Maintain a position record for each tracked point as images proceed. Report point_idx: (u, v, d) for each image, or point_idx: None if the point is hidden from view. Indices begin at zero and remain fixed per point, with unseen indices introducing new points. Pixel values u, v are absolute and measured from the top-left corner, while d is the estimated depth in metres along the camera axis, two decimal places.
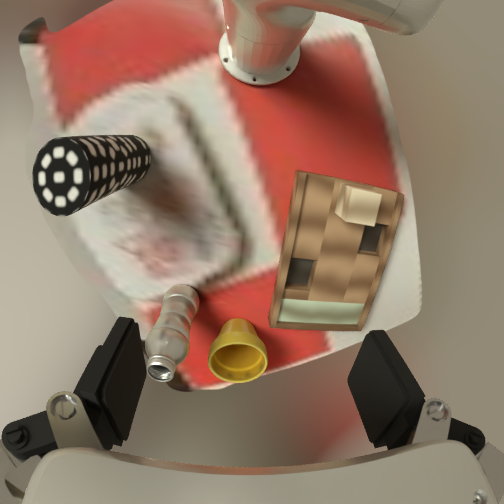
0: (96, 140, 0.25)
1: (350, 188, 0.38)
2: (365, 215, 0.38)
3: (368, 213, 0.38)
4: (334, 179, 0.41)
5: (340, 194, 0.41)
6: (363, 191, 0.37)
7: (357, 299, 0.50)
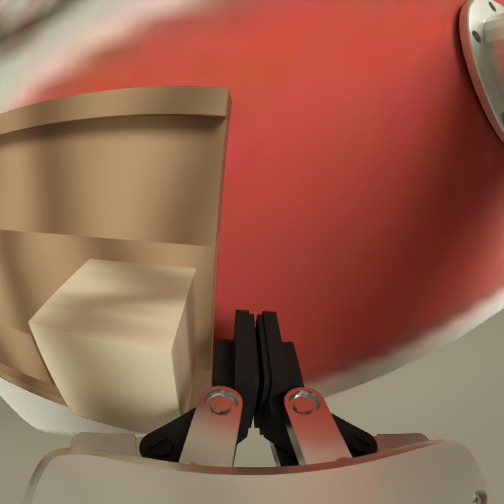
0: None
1: (169, 333, 0.07)
2: (86, 395, 0.08)
3: (98, 404, 0.08)
4: (210, 243, 0.11)
5: (148, 274, 0.10)
6: (171, 391, 0.07)
7: None
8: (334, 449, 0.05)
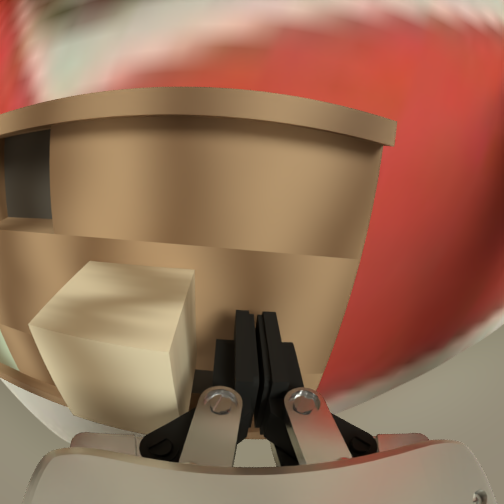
0: None
1: (167, 334, 0.07)
2: (87, 396, 0.08)
3: (98, 405, 0.08)
4: (357, 256, 0.11)
5: (147, 276, 0.10)
6: (170, 393, 0.07)
7: (18, 357, 0.14)
8: (334, 449, 0.05)
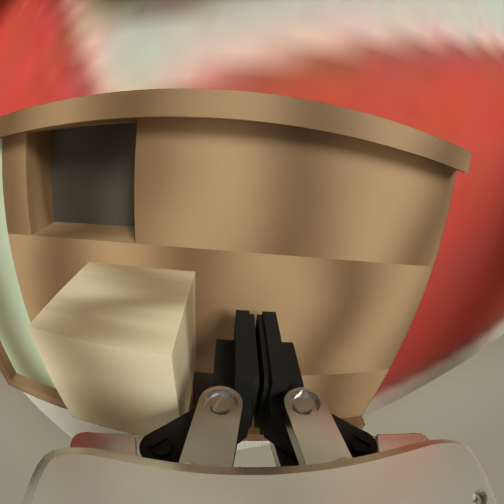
0: None
1: (169, 337, 0.07)
2: (87, 398, 0.08)
3: (98, 407, 0.08)
4: (431, 263, 0.12)
5: (148, 277, 0.10)
6: (171, 395, 0.07)
7: None
8: (334, 449, 0.05)
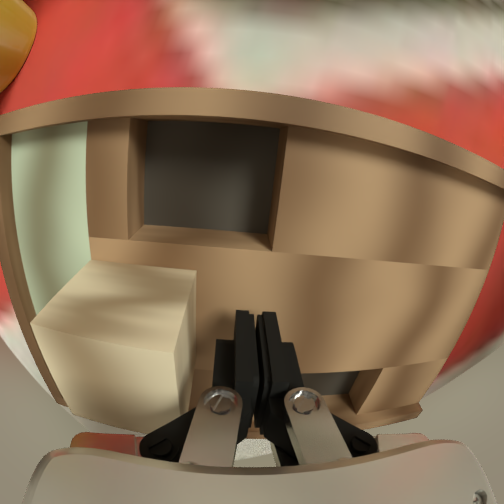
0: None
1: (171, 335, 0.07)
2: (88, 396, 0.08)
3: (98, 404, 0.08)
4: (488, 267, 0.12)
5: (149, 276, 0.10)
6: (172, 393, 0.08)
7: None
8: (334, 449, 0.05)
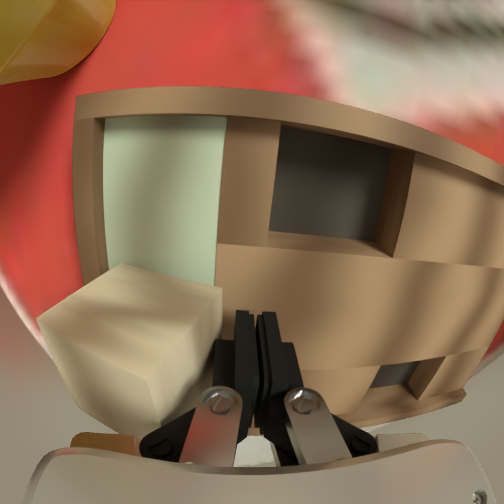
0: None
1: (155, 359, 0.07)
2: (86, 396, 0.08)
3: (96, 406, 0.08)
4: None
5: (169, 288, 0.10)
6: (154, 417, 0.07)
7: None
8: (334, 449, 0.05)
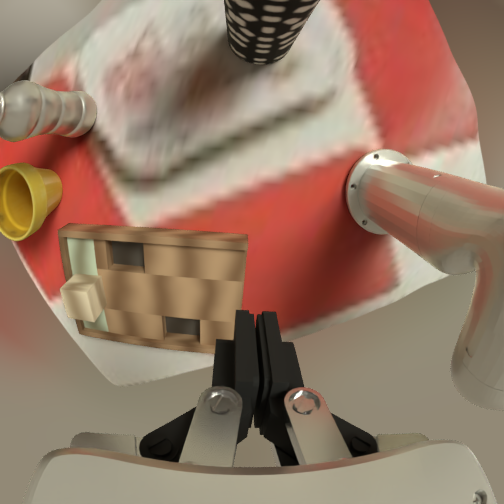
0: (315, 4, 0.15)
1: (87, 289, 0.33)
2: (72, 308, 0.33)
3: (74, 310, 0.34)
4: (242, 280, 0.38)
5: (89, 277, 0.36)
6: (88, 303, 0.33)
7: (111, 323, 0.40)
8: (334, 449, 0.05)
